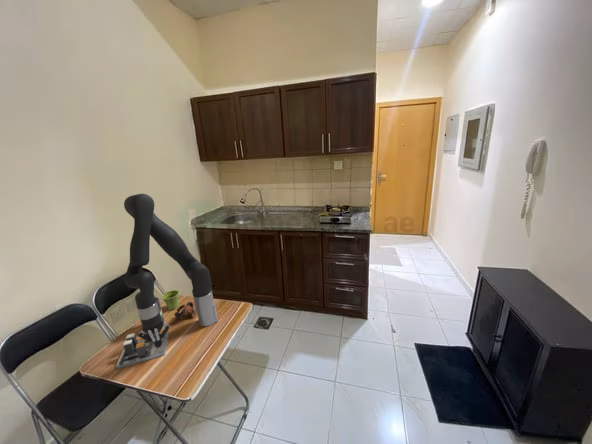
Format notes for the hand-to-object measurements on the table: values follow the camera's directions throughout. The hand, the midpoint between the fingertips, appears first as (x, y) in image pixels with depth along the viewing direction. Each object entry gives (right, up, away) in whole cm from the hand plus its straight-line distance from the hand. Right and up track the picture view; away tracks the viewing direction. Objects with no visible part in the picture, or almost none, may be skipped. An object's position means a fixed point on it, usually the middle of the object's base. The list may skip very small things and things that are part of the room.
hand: (158, 346), depth 112 cm
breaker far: (-15, -2, +5) cm, 16 cm away
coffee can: (-14, +1, +21) cm, 25 cm away
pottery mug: (+1, +3, +26) cm, 27 cm away
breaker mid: (-14, -3, +1) cm, 14 cm away
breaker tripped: (-6, -3, -1) cm, 7 cm away
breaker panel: (-8, -4, +3) cm, 9 cm away
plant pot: (-11, +5, +36) cm, 38 cm away
